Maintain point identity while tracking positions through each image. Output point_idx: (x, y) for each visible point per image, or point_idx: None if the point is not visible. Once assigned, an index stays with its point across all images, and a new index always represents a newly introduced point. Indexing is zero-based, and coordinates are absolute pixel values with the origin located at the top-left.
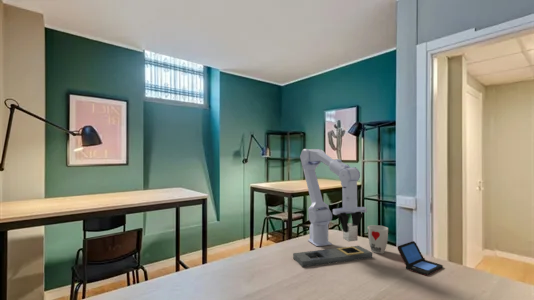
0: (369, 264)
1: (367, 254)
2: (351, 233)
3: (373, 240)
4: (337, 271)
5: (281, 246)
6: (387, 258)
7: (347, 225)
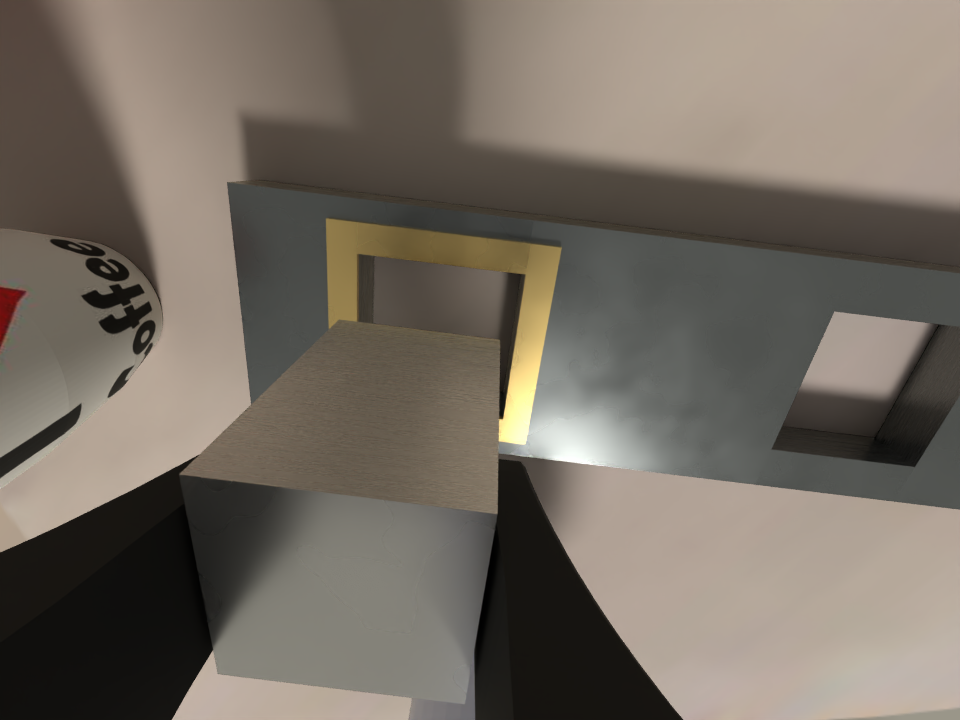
0: (412, 20)
1: (303, 190)
2: (430, 391)
3: (51, 319)
4: (905, 5)
5: (803, 685)
6: (99, 86)
7: (501, 560)
